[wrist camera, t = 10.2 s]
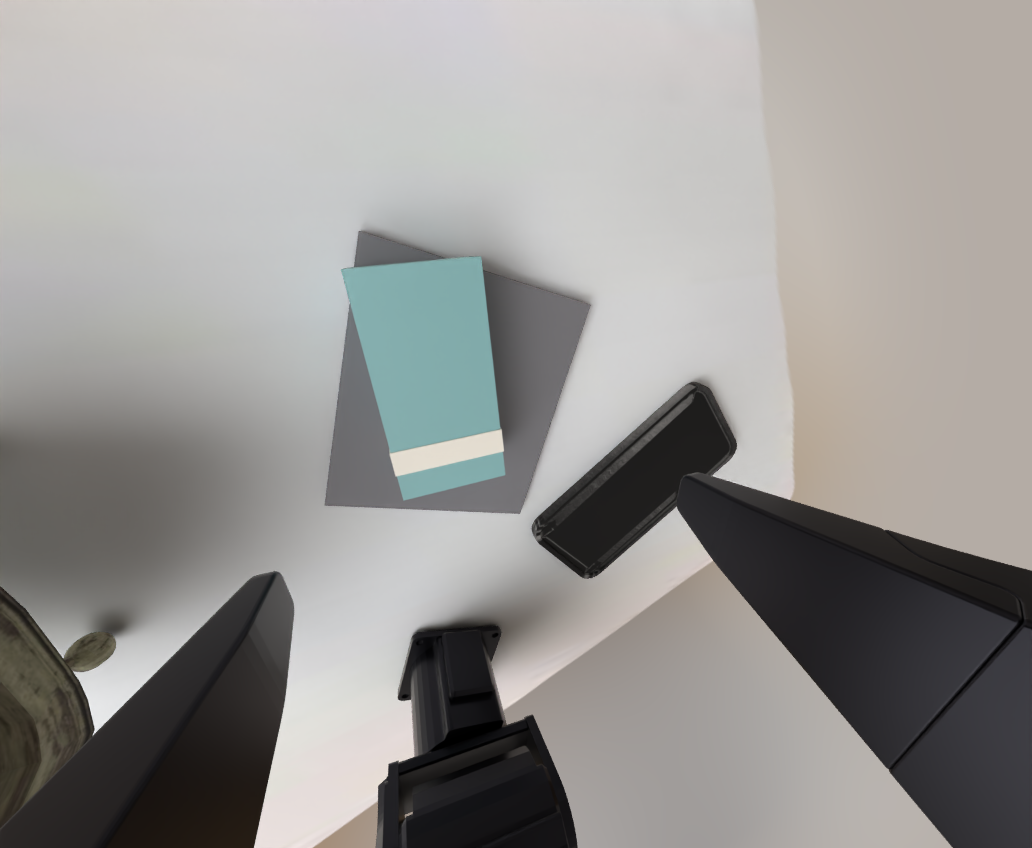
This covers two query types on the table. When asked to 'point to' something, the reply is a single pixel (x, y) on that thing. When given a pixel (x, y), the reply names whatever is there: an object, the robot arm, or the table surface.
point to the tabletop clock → (40, 703)
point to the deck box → (430, 369)
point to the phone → (636, 482)
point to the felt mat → (519, 387)
